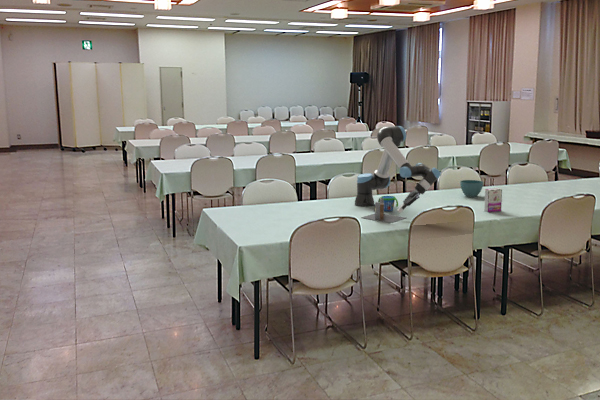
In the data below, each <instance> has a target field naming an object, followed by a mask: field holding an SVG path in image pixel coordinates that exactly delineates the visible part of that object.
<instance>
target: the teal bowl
mask: <svg viewBox="0 0 600 400" xmlns="http://www.w3.org/2000/svg"><path fill="white" fill-rule="evenodd" d="M459 184H460V188H461V191H462V194H464V196H465V198H466V197H467V198H476V197H478V195H480V193H481V192H482V189H483V186H484V181H482V180H475V179H474V180H473V179H464V180H460V181H459Z"/></svg>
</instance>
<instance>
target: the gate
mask: <svg viewBox="0 0 600 400" xmlns="http://www.w3.org/2000/svg"><path fill="white" fill-rule="evenodd" d="M384 212H385V211H384V204H380V219H381V220H383V215H384V214H385V213H384Z"/></svg>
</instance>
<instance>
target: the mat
mask: <svg viewBox="0 0 600 400" xmlns="http://www.w3.org/2000/svg"><path fill="white" fill-rule="evenodd" d="M384 214H385V215H383V220H381V219H380V216H379V220H375V213H372V214H368V215H365V216H362V217H361V216H360V217H361V218H360V219H365V220H370V221H376V222H381V223H387V224H393V223H396V222H398V221H403V220H405V219H407V217H405V216H399V215H394V214H388V213H384Z"/></svg>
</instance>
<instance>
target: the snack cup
mask: <svg viewBox="0 0 600 400" xmlns="http://www.w3.org/2000/svg"><path fill="white" fill-rule="evenodd" d="M380 198H384V212H392V211H393V210H394V207H396V208H399V201H398V199H397V198H396V196H395V195H394V196H393V195H381V196H380V197H379V198H378V200H377V202H380ZM395 203H396V204H395Z"/></svg>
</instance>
